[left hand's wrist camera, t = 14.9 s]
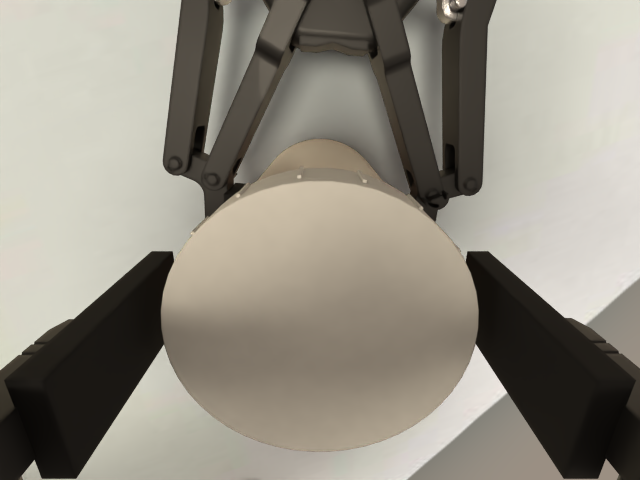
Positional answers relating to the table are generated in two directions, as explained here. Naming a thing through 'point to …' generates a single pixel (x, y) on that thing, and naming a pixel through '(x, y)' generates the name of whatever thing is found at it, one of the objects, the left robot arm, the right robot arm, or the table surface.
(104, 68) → the table surface
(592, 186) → the table surface
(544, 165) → the table surface
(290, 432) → the lid
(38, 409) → the left robot arm
